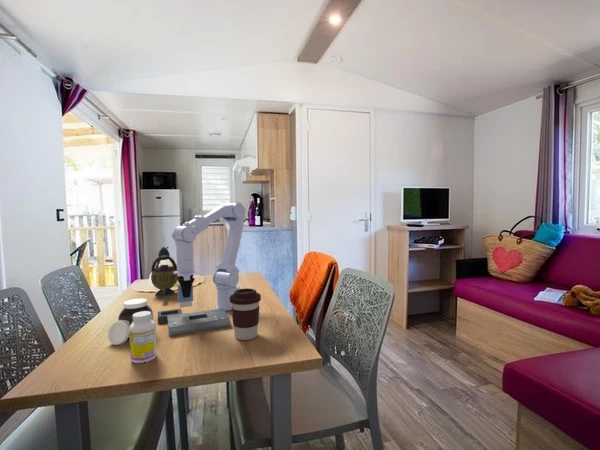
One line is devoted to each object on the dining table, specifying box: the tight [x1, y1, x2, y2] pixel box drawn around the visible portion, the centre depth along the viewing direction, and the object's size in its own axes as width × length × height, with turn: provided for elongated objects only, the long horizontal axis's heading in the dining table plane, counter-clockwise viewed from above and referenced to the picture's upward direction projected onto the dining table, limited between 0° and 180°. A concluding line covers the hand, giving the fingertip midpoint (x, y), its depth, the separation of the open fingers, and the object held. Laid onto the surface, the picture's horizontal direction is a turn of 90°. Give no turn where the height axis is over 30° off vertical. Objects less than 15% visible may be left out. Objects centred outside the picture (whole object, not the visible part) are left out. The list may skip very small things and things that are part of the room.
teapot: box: [150, 246, 179, 298], centre depth 153 cm, size 12×25×23 cm, turn 18°
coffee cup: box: [230, 288, 262, 341], centre depth 105 cm, size 10×10×15 cm
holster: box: [157, 308, 183, 324], centre depth 122 cm, size 8×6×2 cm
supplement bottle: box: [129, 311, 158, 364], centre depth 90 cm, size 7×7×13 cm
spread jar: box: [107, 297, 155, 346], centre depth 104 cm, size 12×11×12 cm
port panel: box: [167, 308, 231, 337], centre depth 116 cm, size 20×12×3 cm, turn 114°
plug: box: [177, 283, 194, 309], centre depth 118 cm, size 5×3×8 cm, turn 113°
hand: (186, 296), depth 118 cm, fingers closed on plug, 3 cm apart
